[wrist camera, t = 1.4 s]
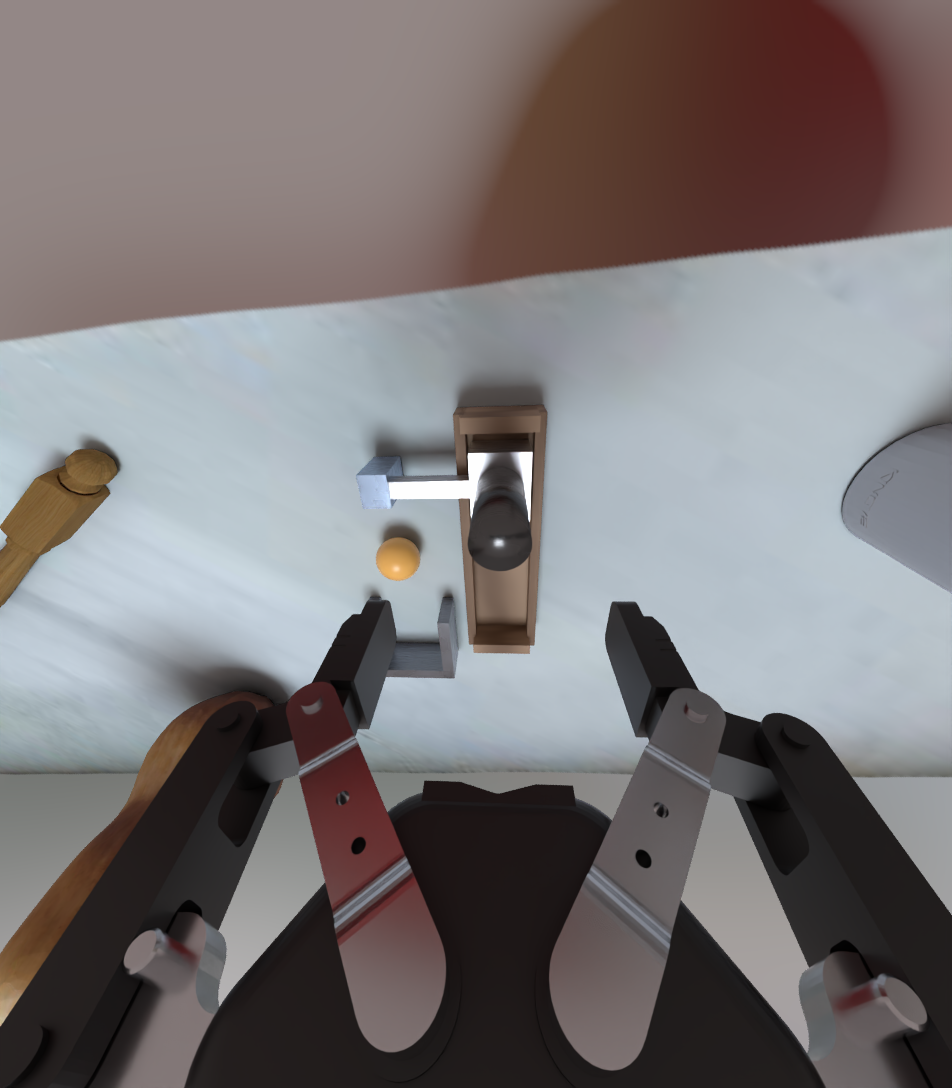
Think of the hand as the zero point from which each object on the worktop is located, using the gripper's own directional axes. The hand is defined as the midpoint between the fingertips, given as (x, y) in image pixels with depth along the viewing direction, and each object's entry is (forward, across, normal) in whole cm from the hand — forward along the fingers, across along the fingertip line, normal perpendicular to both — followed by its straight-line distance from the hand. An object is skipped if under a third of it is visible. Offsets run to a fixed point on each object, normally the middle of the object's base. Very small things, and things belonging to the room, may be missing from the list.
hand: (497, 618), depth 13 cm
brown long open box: (+17, 0, +6) cm, 18 cm away
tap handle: (+18, +43, +7) cm, 47 cm away
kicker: (+16, +4, 0) cm, 17 cm away
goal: (+17, +8, +16) cm, 25 cm away
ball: (+17, +8, +7) cm, 20 cm away
